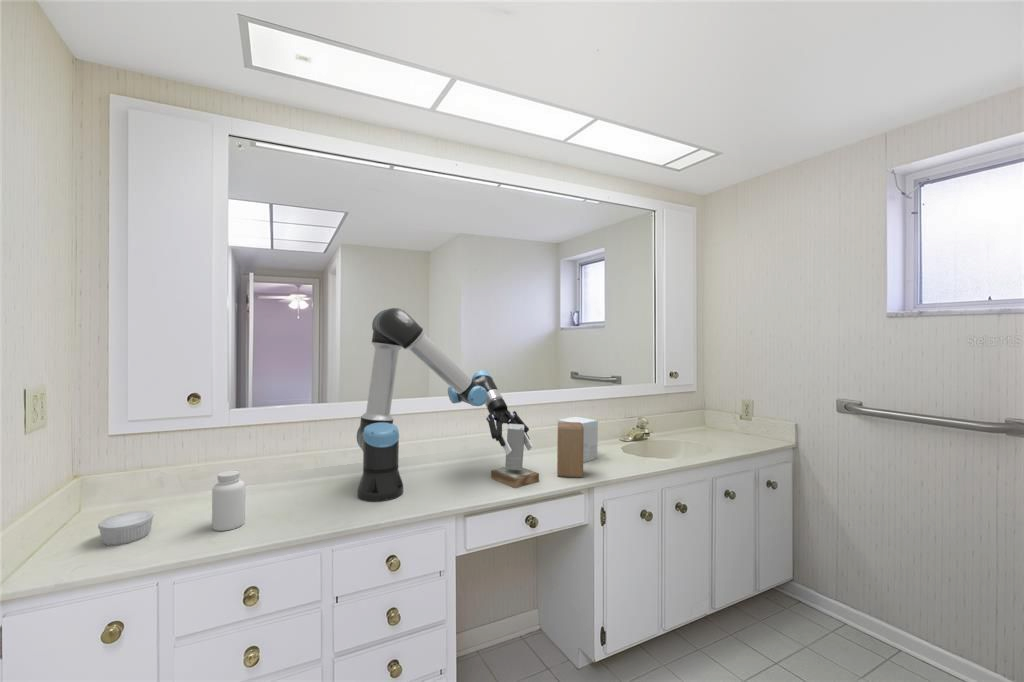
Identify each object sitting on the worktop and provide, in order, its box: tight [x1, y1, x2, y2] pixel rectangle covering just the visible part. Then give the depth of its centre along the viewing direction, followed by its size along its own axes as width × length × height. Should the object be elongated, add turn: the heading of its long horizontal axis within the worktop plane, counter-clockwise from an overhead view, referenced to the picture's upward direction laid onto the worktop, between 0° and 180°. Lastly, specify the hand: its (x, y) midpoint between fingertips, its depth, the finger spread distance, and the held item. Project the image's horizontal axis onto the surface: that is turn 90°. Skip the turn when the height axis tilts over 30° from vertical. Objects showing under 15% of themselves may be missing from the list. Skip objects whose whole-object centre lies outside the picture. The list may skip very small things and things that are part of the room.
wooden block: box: [556, 422, 584, 479], centre depth 175 cm, size 10×10×20 cm
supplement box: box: [556, 416, 599, 464], centre depth 199 cm, size 13×13×18 cm
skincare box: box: [504, 424, 525, 470], centre depth 167 cm, size 8×7×16 cm
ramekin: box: [97, 509, 155, 546], centre depth 117 cm, size 11×11×5 cm
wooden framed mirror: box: [490, 466, 540, 489], centre depth 167 cm, size 12×14×3 cm
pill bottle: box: [211, 470, 246, 532], centre depth 125 cm, size 8×8×15 cm
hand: (520, 450), depth 165 cm, fingers closed on skincare box, 10 cm apart
